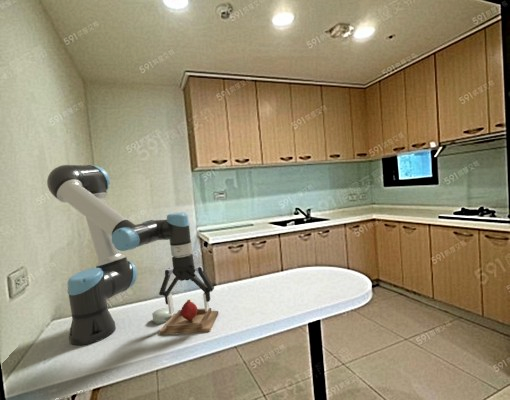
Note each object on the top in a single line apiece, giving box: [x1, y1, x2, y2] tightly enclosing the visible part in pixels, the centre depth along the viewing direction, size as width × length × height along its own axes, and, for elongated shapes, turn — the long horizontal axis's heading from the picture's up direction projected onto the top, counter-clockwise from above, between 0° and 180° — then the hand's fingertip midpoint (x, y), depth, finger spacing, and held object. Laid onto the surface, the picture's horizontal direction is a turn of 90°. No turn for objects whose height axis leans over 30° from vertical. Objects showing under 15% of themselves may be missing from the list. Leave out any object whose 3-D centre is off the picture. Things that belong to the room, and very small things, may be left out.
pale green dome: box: [152, 307, 173, 325], centre depth 119 cm, size 7×7×3 cm
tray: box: [159, 307, 219, 335], centre depth 113 cm, size 18×14×3 cm
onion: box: [180, 298, 198, 321], centre depth 112 cm, size 6×6×8 cm
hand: (189, 311), depth 113 cm, fingers open, 13 cm apart
